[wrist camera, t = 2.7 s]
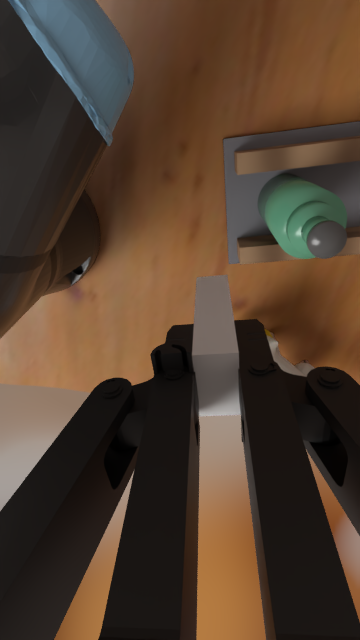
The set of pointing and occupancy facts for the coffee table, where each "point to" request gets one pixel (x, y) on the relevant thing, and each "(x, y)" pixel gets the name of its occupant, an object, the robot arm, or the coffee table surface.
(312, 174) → the mat
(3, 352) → the coffee table surface
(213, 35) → the coffee table surface
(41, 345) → the coffee table surface
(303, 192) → the bottle
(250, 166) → the rest
